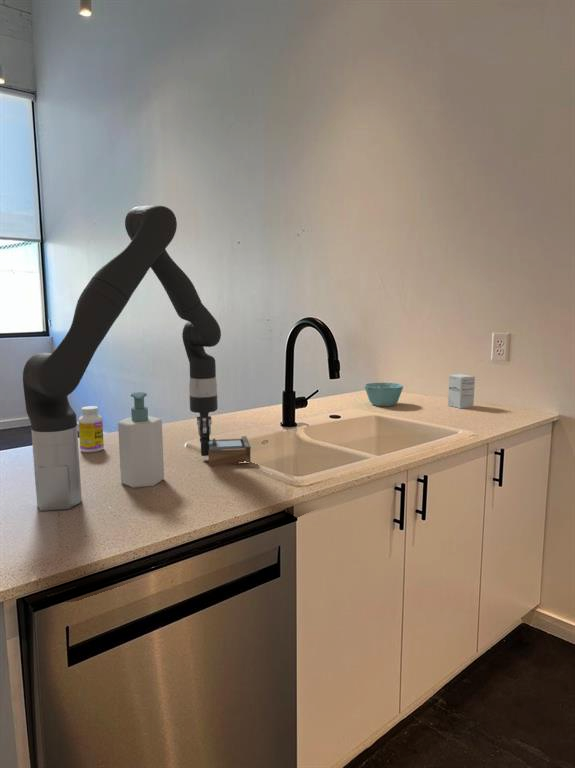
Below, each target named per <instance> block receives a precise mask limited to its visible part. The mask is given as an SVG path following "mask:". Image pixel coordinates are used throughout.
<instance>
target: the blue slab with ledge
mask: <svg viewBox="0 0 575 768" xmlns="http://www.w3.org/2000/svg"><path fill="white" fill-rule="evenodd" d="M211 440H213V441H212V442H209V450H218V449H238V448H242V443H241V441H240V440H234V441H216V440H217V439H216V438H212V439H211Z"/></svg>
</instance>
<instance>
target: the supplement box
mask: <svg viewBox="0 0 575 768" xmlns="http://www.w3.org/2000/svg"><path fill="white" fill-rule="evenodd" d="M448 377H449V378H448V392H447V393H448V394H447V395H448V396H447V406H450V407H454V408H457V409H459V410H460V409H470V408H474V404H475V403H474V402H475V401H474V399H475V385H476V383H475V381H476V376H474V375H470V374H469V375H468V374H464V373H458V374H449V375H448Z"/></svg>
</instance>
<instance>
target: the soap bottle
mask: <svg viewBox="0 0 575 768" xmlns="http://www.w3.org/2000/svg"><path fill="white" fill-rule="evenodd" d="M147 396H148V394H147V392H139V391H137V392H133V393H131V394H130V397H132V398H133V401H134V402H133V403H134V407H131V412H130V413H131V416H129V417H127V418H125V419H122V420H120V421H118V423H117V429H118V433H117V434H118V446H119V447H118V448H119V467H120V483H122V484H123V485H125V486H128V487H130V488H133V489H135V488H145V487H147V488H148V487H154V486H156V485H157V484H159V483H160V482H161V481H163V480H164V479H165V470H164V469H165V468H164V465H165V464H164V442H163V441H164V440H163V439H164V437H163V420H162V419H161V418H159V417H155V416H151V415H149V409H148V408H149V407H147V406H145V397H147Z"/></svg>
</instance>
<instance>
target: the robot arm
mask: <svg viewBox="0 0 575 768" xmlns="http://www.w3.org/2000/svg"><path fill="white" fill-rule="evenodd" d="M124 227H125V230H126V231H125V232H126V234H127V235H128V237H129V239H130V240H131V241H130V242H129V243H128V245H127V246H126V247H125V248H124V249H123V250H121V251H120V253H118V254H117V255H115V256H114V257H113V258H111V259H110V260H109V261H108V262H107V263H105V264H104V265H103V266H101V268H99V269H98V271H96V273H94V275H93V276H92V277H91V279H90V280H89V282H88V283H87V285H86V286H85V288H84V289H83V290H82V292H81V294H80V295H79V297H78V299H77V301H76V305H75V308H74V313H73V314H74V315H73V319H72V322H71V324H70V326H69V329H68V331H67V333H66V335H65V336H64V337H63V338H62V340H61V342H60V343H59V344H58V346H57V347H56V348H55V349H54V351H52V352H39V353H35V354H33V355H32V356H31V357H30V358H29V359H28V360H27V361H26V362H25V365H24V367H23V371H22V383H23V384H22V385H23V386H22V387H23V394H24V395H23V396H24V403H25V411H26V415H27V417H28V419H29V422H30V428H31V440H32V441H31V442H32V443H31V444H32V453H33V455H32V457H33V467H34V468H33V470H34V480H35V481H34V483H35V493H36V494H35V495H36V506H37V507H38V508H39V511H42V512H43V511H44V512H45V511H58V510H59V511H61V510H70V509H71V508H72V507H75V506H77V505H79V504H80V503H81V502H82V501H83V500H82V499H83V497H82V482H81V466H80V454H79V453H80V451H79V450H80V449H79V439H78V438H79V434H78V433H79V432H78V421H77V414H76V412H75V411H74V410H73V408H72V406H71V404H70V403H69V398H68V396H69V395H71V394H72V393H74V391H75V390H76V389H77V388H78V386H79V384H80V382H81V381H82V379H83V376H84V375H85V373H86V371H87V368H88V367H89V364H90V363H91V361H92V359H93V357H94V355H95V353H96V352H97V349H98V348H99V347H100V345H101V344H102V342H103V340H104V338H106V336H107V335H108V332H109V331H110V329H111V328H112V327H113V325H114V323H115V322H116V321H117V319H118V318H119V317H120V315H121V314H122V312H123V310H124V309H125V308H126V305H127V304H128V302H129V301H130V300H131V297H132V296H133V294H134V292H135V291H136V290H137V288H138V287H139V285H140V283H141V282H142V280H143V279H144V277H145V276H146V274H147V273H148V271H150V268H151V270H152V272H153V273H154V274H155V276H156V277H157V279H158V280H159V282H160V283H161V285H162V287H163V288H164V291H165V292H166V294H167V297H168V298H169V301H170V302H171V304H172V306H173V308H174V310H175V312H176V314H177V316H178V317H179V318H180V319H182V320H184V321H187V322H185V324H184V327H183V328H182V336H181V337H182V342H183V345H184V349H185V352H186V353H185V354H186V357H187V359H188V362H189V382H188V383H189V384H188V385H189V389H188V391H189V392H188V393H189V410H190V411H191V412H192V413H198V414H199V416H196V425H197V432H198V435H199V437H200V438H199V442H200V455H201V456H202V457H209V454H208V450H209V441H210V440H211V437H210V436H211V434H212V423H213V422H212V421H213V420H212V416H211V415H209V413H213V412H217V410H218V407H219V405H218V383H217V374H216V373H217V372H216V371H217V370H216V369H217V368H216V359H215V357H214V356H212V355H210V354H208V353H207V352H206V350H205V347H206V348H211V347H215V346H217V345H218V344H219V342H220V340H221V338H222V333H221V332H222V331H221V327H220V325H219V323H218V321H217V319H216V318H215V316H213V315H212V314H211V312H210V311H209V309H208V308H207V307H206V306H205V305H204V304H203V303H202V300H201V298H200V296H199V293H198V291H197V289H196V287H195V286H194V285H195V284H194V283H193V282H192V281H191V279H190V278H189V276H188V275H187V274H186V273H185V271H184V270H182V269H181V267H180V266H179V265H178V264H177V263H176V262H175V261H174V259H173V258H172V257H171V256H170V255H169V252H167V250H166V249H167V248H168V246H169V245H170V244H171V242H172V241H173V239H174V237H175V235H176V233H177V228H178V223H177V217H176V215H175V213H174V211H173V210H172V209H170V208H169V207H168V206H164V205H157V204H156V205H155V204H154V205H153V204H152V205H139V206H135V207H133V208H131V209H129V211H128V212H127V214H126V216H125V220H124Z"/></svg>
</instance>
